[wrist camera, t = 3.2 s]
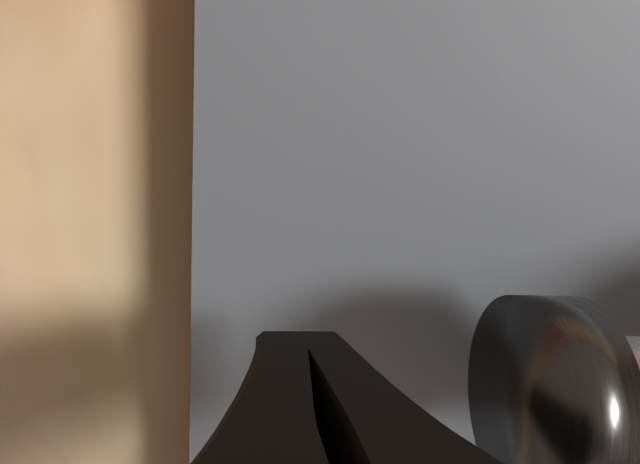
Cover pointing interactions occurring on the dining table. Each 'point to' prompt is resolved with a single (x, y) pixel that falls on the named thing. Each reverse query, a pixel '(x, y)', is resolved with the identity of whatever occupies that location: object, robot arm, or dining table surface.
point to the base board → (406, 179)
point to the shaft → (554, 383)
